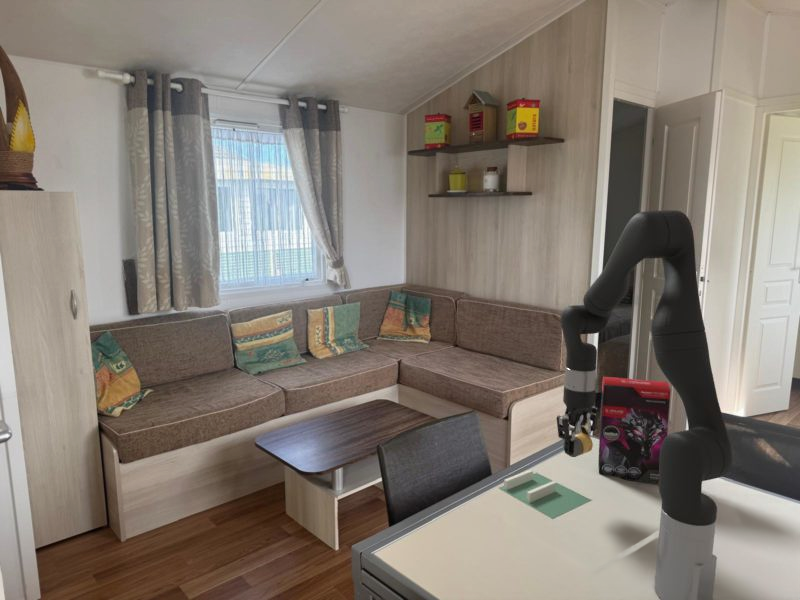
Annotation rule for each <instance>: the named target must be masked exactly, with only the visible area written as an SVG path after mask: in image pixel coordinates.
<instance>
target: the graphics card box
mask: <svg viewBox="0 0 800 600" xmlns="http://www.w3.org/2000/svg"><path fill="white" fill-rule="evenodd" d="M601 384H602V386H601V403H600V423H599V438H598V439H599V441H598V446H599V447H598V460H597V461H598V463H597V464H598V466H597V467H598V475H601V476H609V477H615V478H619V479H623V480H626V481H628V480H629V481H636V482H643V483H651V484H658V485H659V458H660V449H661V445H662V442H663V440H664V439H665V437H666V436H667V435H668V429H669V415H670V403H671V392H672V391H671V388H670V385H669V383H668V381H657V380H647V379H646V380H645V379H635V378H625V377H624V378H623V377H611V376H602V383H601Z"/></svg>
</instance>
